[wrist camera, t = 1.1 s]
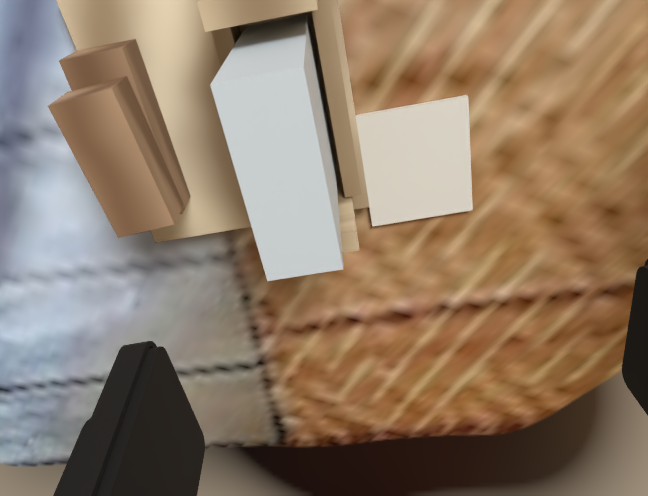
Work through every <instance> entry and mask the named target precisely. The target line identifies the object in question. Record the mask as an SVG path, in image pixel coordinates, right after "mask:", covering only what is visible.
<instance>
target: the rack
mask: <svg viewBox="0 0 648 496" xmlns="http://www.w3.org/2000/svg"><path fill="white" fill-rule="evenodd" d="M56 1H57V3H58V6H59V8H60V11H61V13H62V15H63V18H64V20H65V23H66V25H67V28H68V30H69V33H70V35H71V37H72V40H73V42H74V45H75V47H76V50H82V49H87V48H92V47H97V46H102V45H107V44H112V43H117V42H122V41H127V40H132V39H136V41H137V44H138V47H139V50H140V52H141V55H142V58H143V61H144V64H145V67H146V70H147V72H148V75H149V78H150V81H151V84H152V87H153V90H154V92H155V95H156V98H157V101H158V104H159V107H160V110H161V113H162V115H163V118H164V121H165V124H166V127H167V130H168V133H169V135H170V138H171V141H172V144H173V147H174V150H175V153H176V155H177V158H178V161H179V164H180V167H181V170H182V173H183V176H184V178H185V181H186V184H187V187H188V190H189V193H190V199H189V201H188V203H187V206H186V208H185V210H184V212H183V214H180V215H179V216H178V218H177V220H176V223H175V224H174V225H170V226H166V227H162V228H158V229H153V230H150V231H151V233H152V235H153V238H154V240H155V243H157V242H163V241H169V240H175V239H181V238H187V237H193V236H199V235H205V234H211V233H217V232H223V231H229V230H235V229H241V228H247V227H251V223H250V220H249V216H248V213H247V210H246V206H245V203H244V199H243V196H242V192H241V189H240V186H239V182H238V179H237V175H236V172H235V168H234V165H233V162H232V158H231V155H230V151H229V148H228V144H227V141H226V138H225V134H224V131H223V127H222V124H221V120H220V117H219V114H218V110H217V107H216V103H215V100H214V96H213V93H212V90H211V86H210V84H211V83H212V81H213V79H214V78H215V76H216V74H217V73H218V71H219V70H220V68H221V66H222V65H223V63H224V61H225V60H226V58H227V57H228V55H229V53H230V52H231V50H232V49H233V47H234V45H235V44H236V42H237V40H238V39H239V37H240V36H241V34H242V32H243V31H244V29H245V27H247V26H252V25H257V24H262V23H267V22H272V21H277V20H282V19H287V18H292V17H297V16H302V15H307V14H308V19H309V24H310V30H311V35H312V41H313V46H314V52H315V57H316V63H317V68H318V74H319V79H320V84H321V90H322V95H323V101H324V106H325V112H326V117H327V123H328V128H329V133H330V139H331V144H332V150H333V155H334V161H335V169H336V182H337V195H338V208H339V220H340V233H341V246H342V253H344V252H350V251H356V250H359V243H358V235H357V227H356V220H355V212H354V210H355V209H361V208H367V207H369V200H368V194H367V187H366V181H365V174H364V168H363V161H362V155H361V148H360V142H359V135H358V129H357V122H356V116H355V109H354V103H353V96H352V90H351V83H350V77H349V70H348V64H347V57H346V51H345V44H344V38H343V31H342V25H341V18H340V12H339V5H338V0H56Z"/></svg>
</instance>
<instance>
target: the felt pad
mask: <svg viewBox="0 0 648 496" xmlns="http://www.w3.org/2000/svg"><path fill="white" fill-rule="evenodd" d="M355 116H356V122H357V129H358V135H359V142H360V148H361V155H362V161H363V168H364V174H365V181H366V187H367V194H368V200H369V209H370V215H371V221H372V227H373V226H379V225H385V224H391V223H397V222H403V221H410V220H416V219H422V218H428V217H434V216H440V215H446V214H452V213H458V212H465V211H471V210H473V208H472V183H471V157H470V131H469V105H468V96H467V95H464V96H458V97H453V98H447V99H442V100H436V101H431V102H425V103H420V104H414V105H409V106H403V107H398V108H392V109H387V110H381V111H376V112H370V113H364V114H359V115H355Z"/></svg>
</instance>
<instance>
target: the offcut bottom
mask: <svg viewBox="0 0 648 496" xmlns="http://www.w3.org/2000/svg"><path fill="white" fill-rule="evenodd" d="M59 62H60V64H61V67H62V69H63V71H64V74H65V76H66V78H67V81H68V83H69V85H70V88H71V90H72V91H74V90H77V89H81V88H84V87H88V86H92V85H95V84H99V83H103V82H106V81H110V80H113V79H117V78H121V77H124V76H127V77H128V80H129V82H130V84H131V86H132V89H133V91H134V93H135V95H136V98H137V100H138V102H139V104H140V107H141V109H142V111H143V114H144V116H145V118H146V120H147V123H148V125H149V127H150V129H151V132H152V134H153V136H154V138H155V141H156V143H157V145H158V147H159V150H160V152H161V154H162V156H163V159H164V161H165V163H166V165H167V168H168V170H169V172H170V174H171V177H172V179H173V181H174V184H175V186H176V188H177V190H178V193H179V195H180V197H181V199H182V202H183V204H184V205H183V207H182V209H181V212H180V214H183V212H184V210H185V208H186V206H187V203H188V201H189V199H190V193H189V190H188V187H187V184H186V181H185V178H184V176H183V173H182V170H181V167H180V164H179V161H178V158H177V155H176V153H175V150H174V147H173V144H172V141H171V138H170V135H169V133H168V130H167V127H166V124H165V121H164V118H163V115H162V113H161V110H160V107H159V104H158V101H157V98H156V95H155V92H154V90H153V87H152V84H151V81H150V78H149V75H148V72H147V70H146V67H145V64H144V61H143V58H142V55H141V52H140V50H139V47H138V44H137V41H136V39H132V40H127V41H122V42H117V43H112V44H107V45H102V46H97V47H92V48H87V49H82V50H77V51H75V52H74V53H72V54H70V55H68V56H67V57H65V58H63V59H61V60H60V61H59ZM180 214H179V215H180Z"/></svg>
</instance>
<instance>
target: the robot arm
mask: <svg viewBox="0 0 648 496" xmlns="http://www.w3.org/2000/svg"><path fill="white" fill-rule="evenodd" d="M622 374H623V378H624V381H625V383H626V385H627V387H628V388H629V390H630V391H631V393H632V394H633V395H634V397H635V398H636V400H637V401H638V402H639V404H640V405H641V407H642V408H643V409H644V411H645V412H646V414H647V415H648V259H647V261H646V262H645V265H644V266H642V267H639V269H638V270H637V274H636V280H635V286H634V293H633V299H632V306H631V312H630V319H629V325H628V332H627V338H626V345H625V351H624V358H623V364H622ZM204 451H205V442H204V436H203V433H202V430H201V428H200V426H199V424H198V421H197V419H196V417H195V415H194V412H193V410H192V408H191V406H190V403H189V401H188V399H187V397H186V394H185V392H184V390H183V388H182V385H181V383H180V381H179V379H178V376H177V374H176V372H175V370H174V367H173V365H172V363H171V360H170V358H169V356H168V354H167V351H166V350H165V348H164V347H157V346H156V344H155V343H154V342H153V341H147V342H141V343H135V344H129V345H124V346H122V347H121V349H120V350H119V353H118V355H117V357H116V360H115V362H114V365H113V367H112V369H111V372H110V374H109V376H108V379H107V381H106V384H105V386H104V388H103V391H102V393H101V395H100V398H99V400H98V403H97V405H96V407H95V410H94V412H93V415H92V417H91V418H90V419H89V420H88V421H87V422H86V423H85V425H84V426H83V428H82V430H81V432H80V435H79V437H78V439H77V442H76V444H75V446H74V449H73V451H72V453H71V456H70V458H69V460H68V463H67V465H66V468H65V470H64V472H63V475H62V477H61V479H60V482H59V484H58V486H57V488H56V491H55V493H54V496H197V491H198V486H199V480H200V474H201V469H202V463H203V458H204Z"/></svg>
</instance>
